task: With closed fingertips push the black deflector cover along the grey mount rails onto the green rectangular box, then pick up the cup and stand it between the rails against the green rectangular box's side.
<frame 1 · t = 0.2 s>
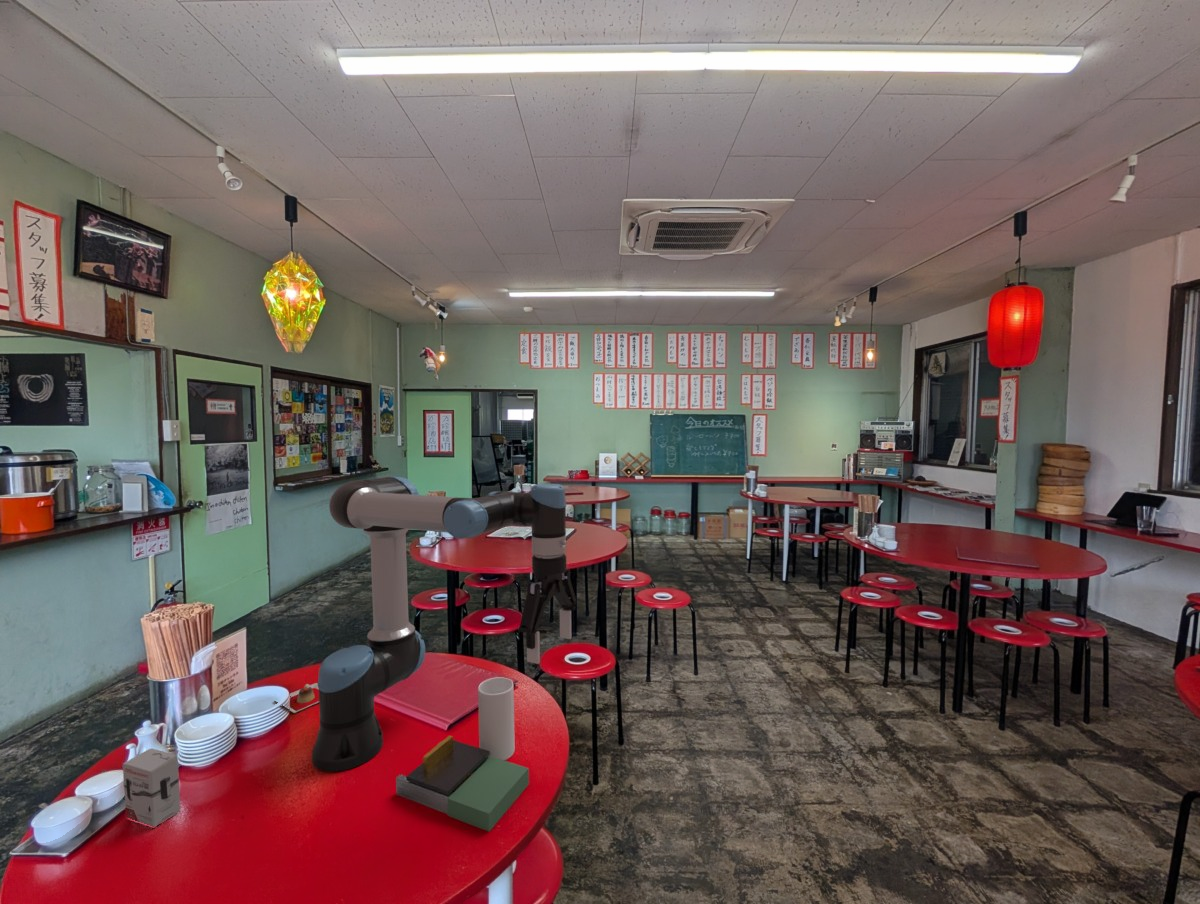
hand: (550, 649, 110), 28 cm above the table, fingers open, 13 cm apart
green rectangular box: (490, 799, 102), on the table
cup: (497, 752, 118), on the table
cover: (449, 758, 106), point 6 cm above the table, slide at 0.0 cm
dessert: (305, 701, 143), on the table
ink box: (153, 817, 99), on the table
bracket: (444, 783, 107), on the table
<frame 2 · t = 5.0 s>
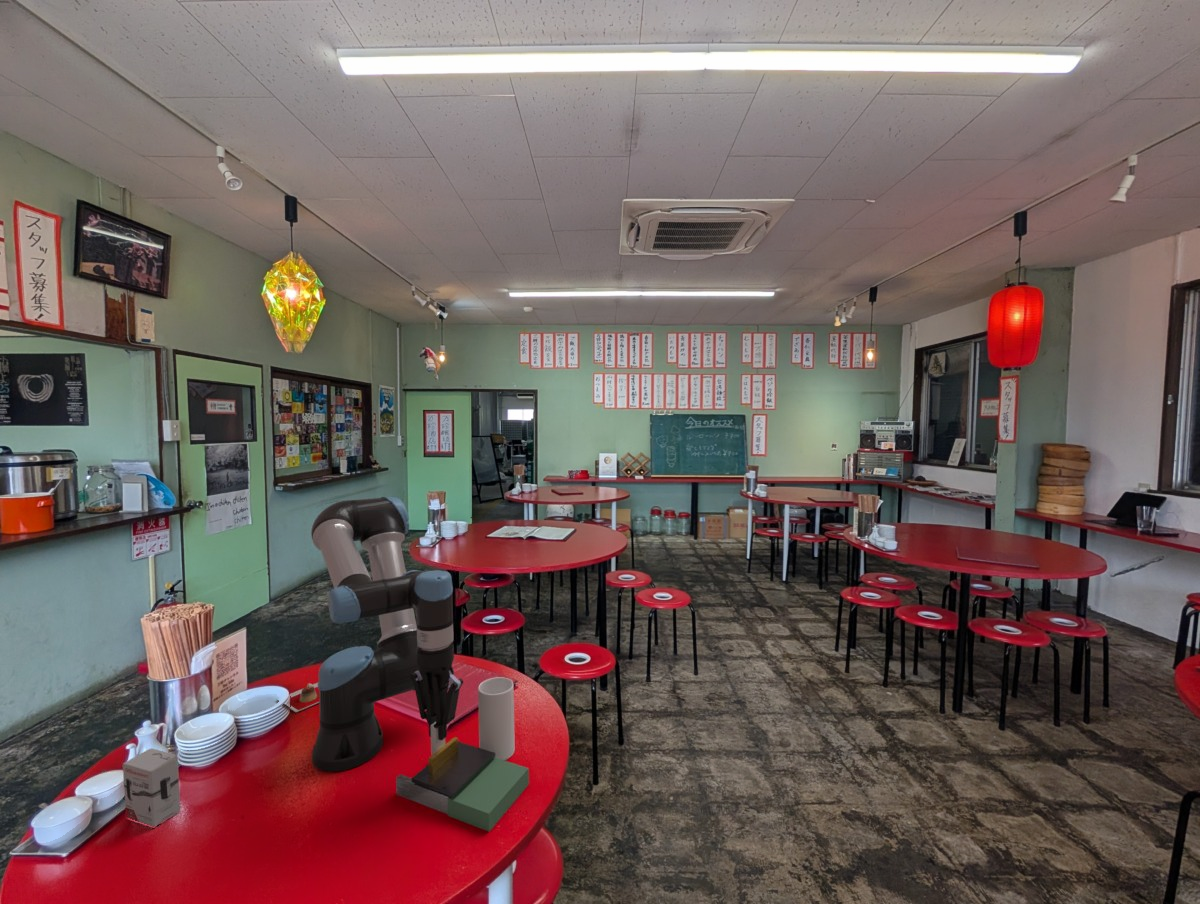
hand: (438, 752, 107), 7 cm above the table, fingers closed
cover: (454, 760, 106), point 6 cm above the table, slide at 1.5 cm, touching gripper
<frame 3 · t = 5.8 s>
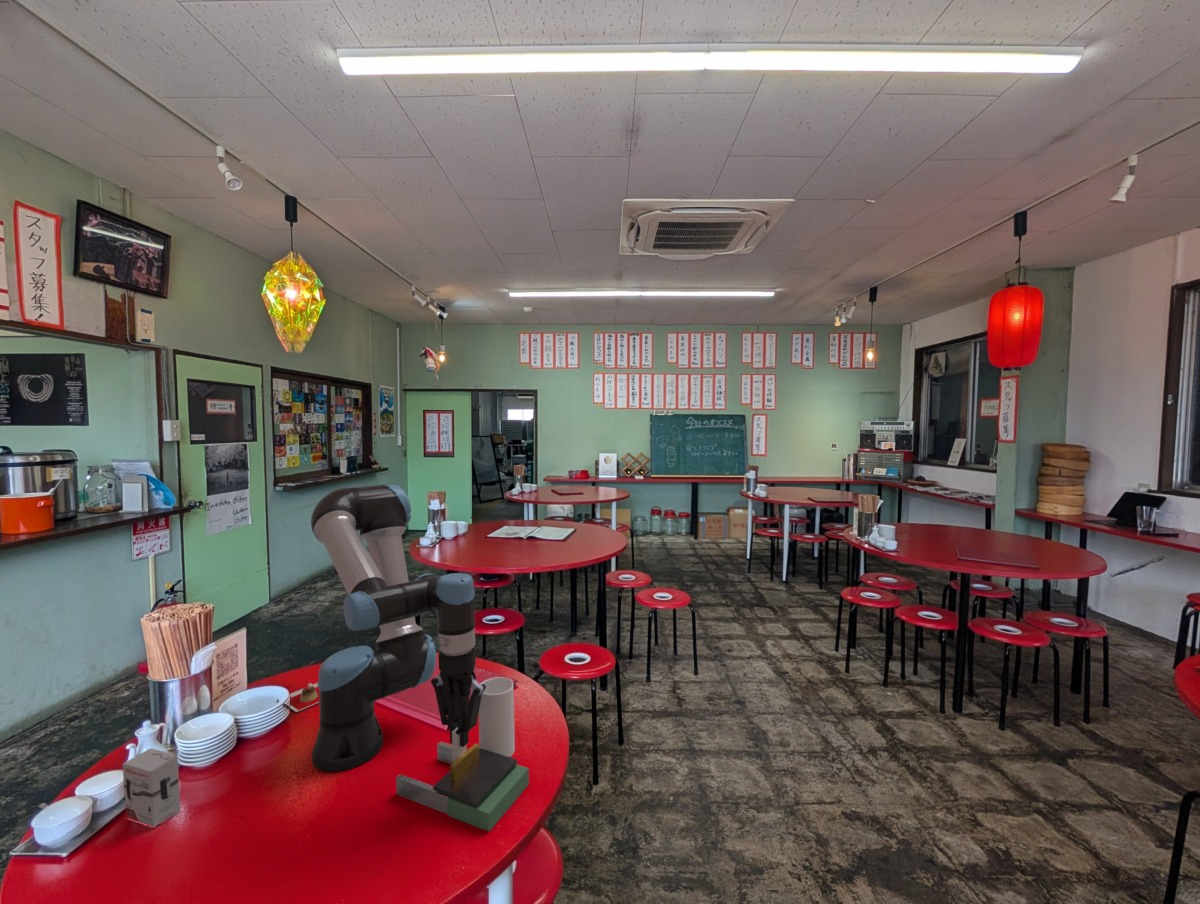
hand: (459, 758, 105), 7 cm above the table, fingers closed
cover: (476, 767, 104), point 6 cm above the table, slide at 7.2 cm, touching gripper
everything else where it was.
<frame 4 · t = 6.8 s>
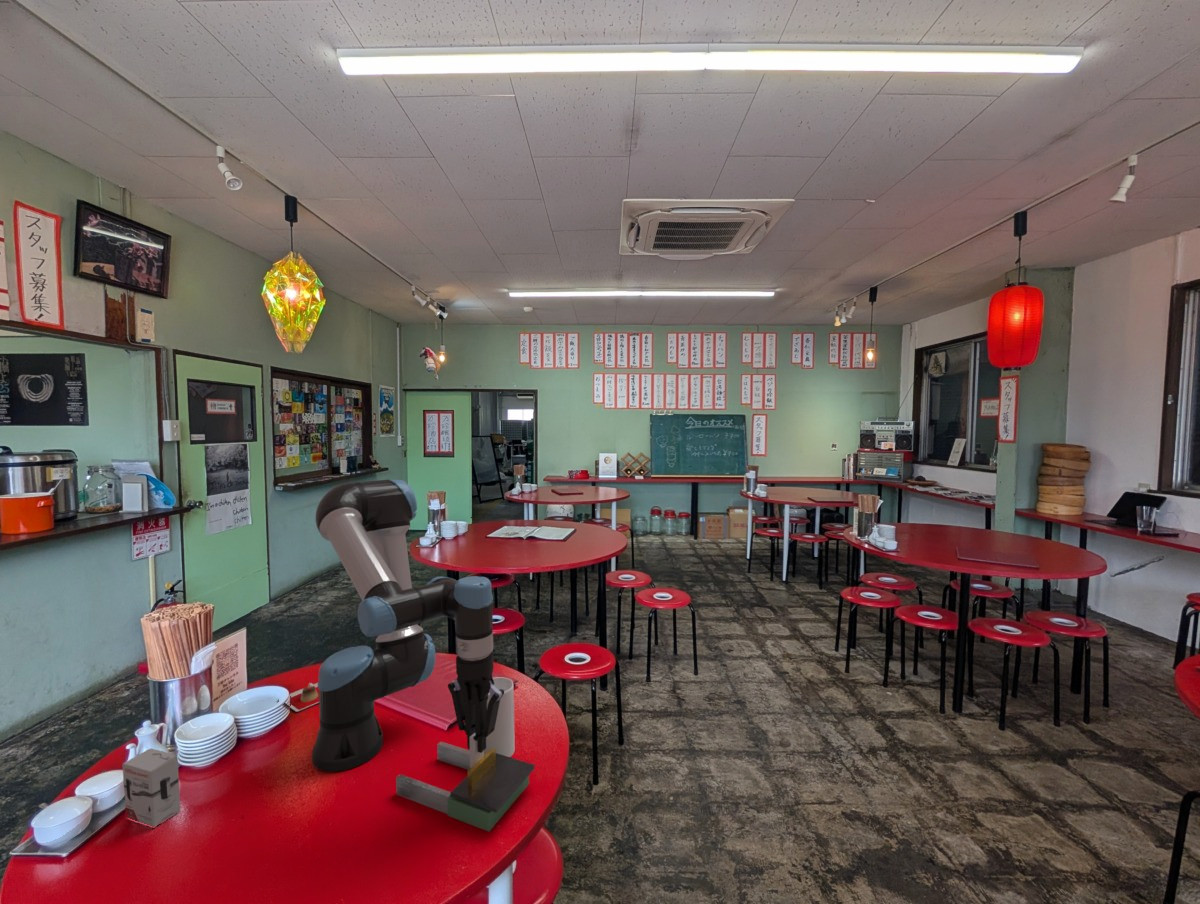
hand: (477, 764, 103), 6 cm above the table, fingers closed
cover: (494, 772, 102), point 6 cm above the table, slide at 11.6 cm, touching gripper
everything else where it was.
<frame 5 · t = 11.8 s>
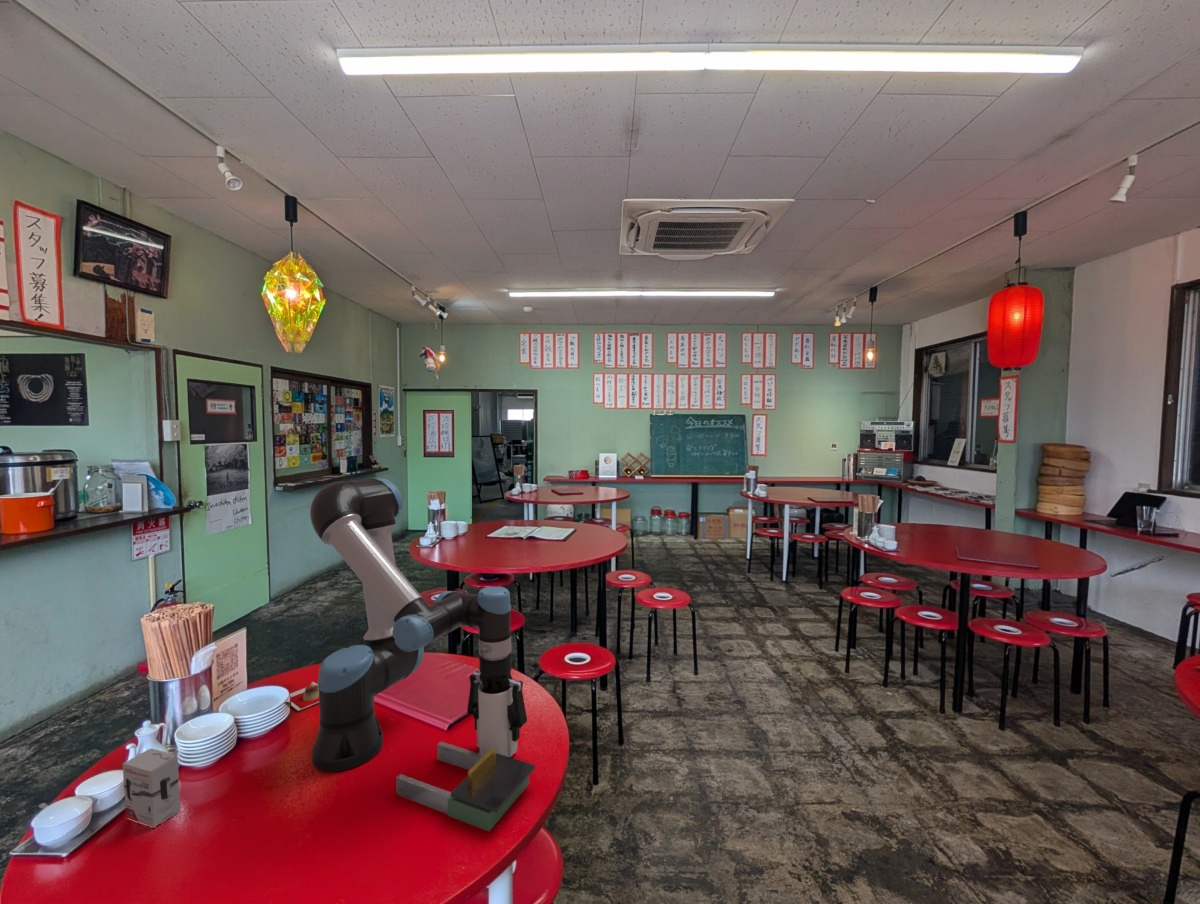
hand: (497, 748, 118), 1 cm above the table, fingers closed on cup, 8 cm apart
cup: (497, 752, 118), on the table, touching gripper
cover: (494, 772, 102), point 6 cm above the table, slide at 11.7 cm
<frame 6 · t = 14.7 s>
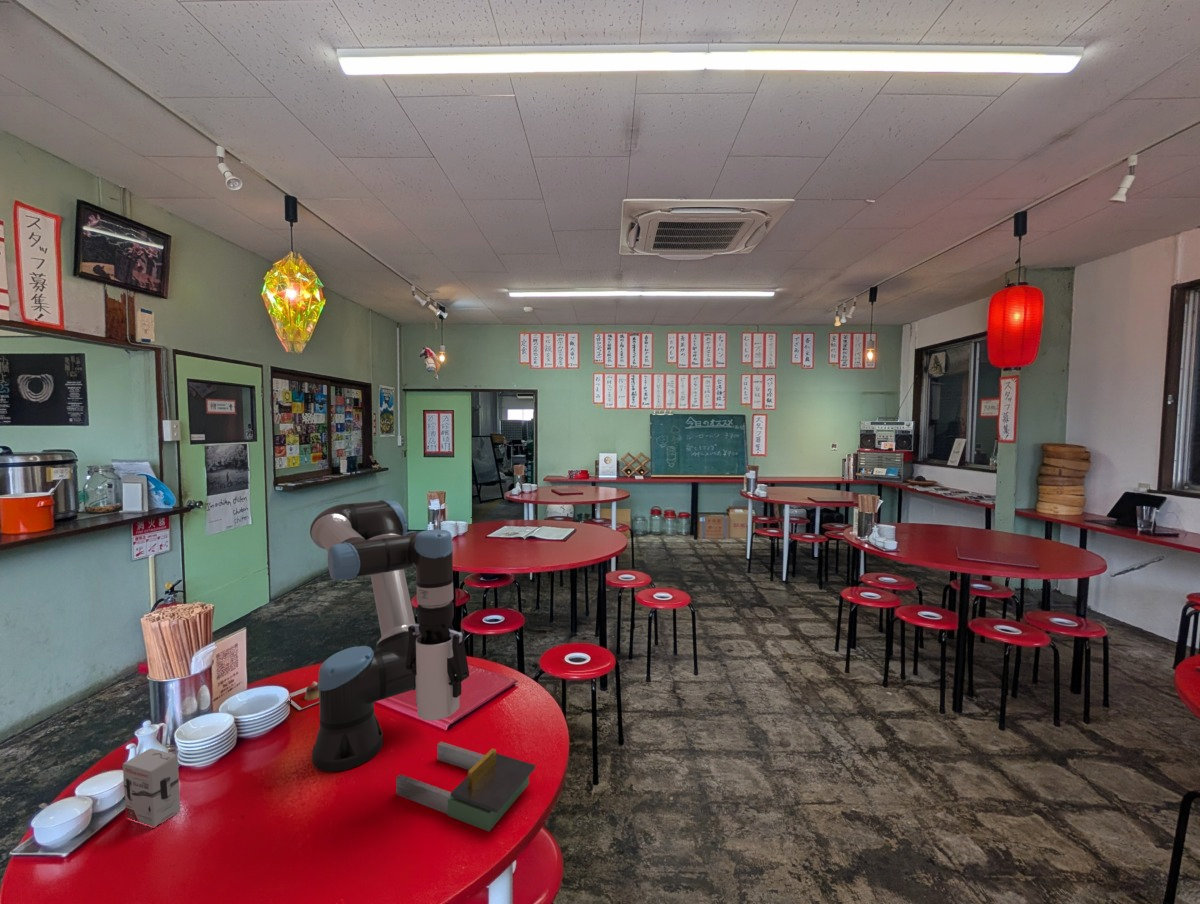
hand: (437, 706, 107), 17 cm above the table, fingers closed on cup, 8 cm apart
cup: (437, 710, 107), point 16 cm above the table, touching gripper
when the fingers open (3 cm above the table, at t = 17.6 s): cup drops 2 cm, on the table.
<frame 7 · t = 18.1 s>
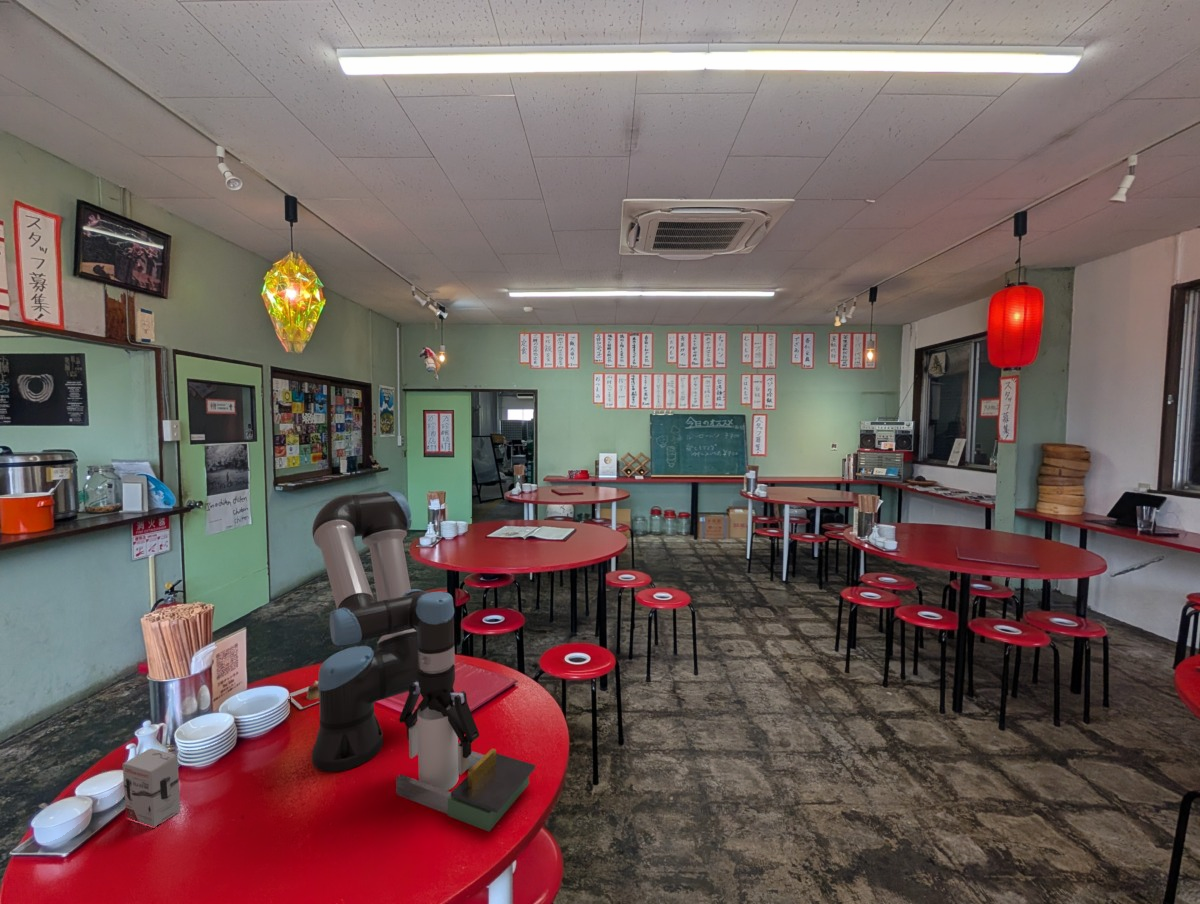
hand: (438, 762, 108), 4 cm above the table, fingers open, 13 cm apart
cup: (439, 782, 108), on the table
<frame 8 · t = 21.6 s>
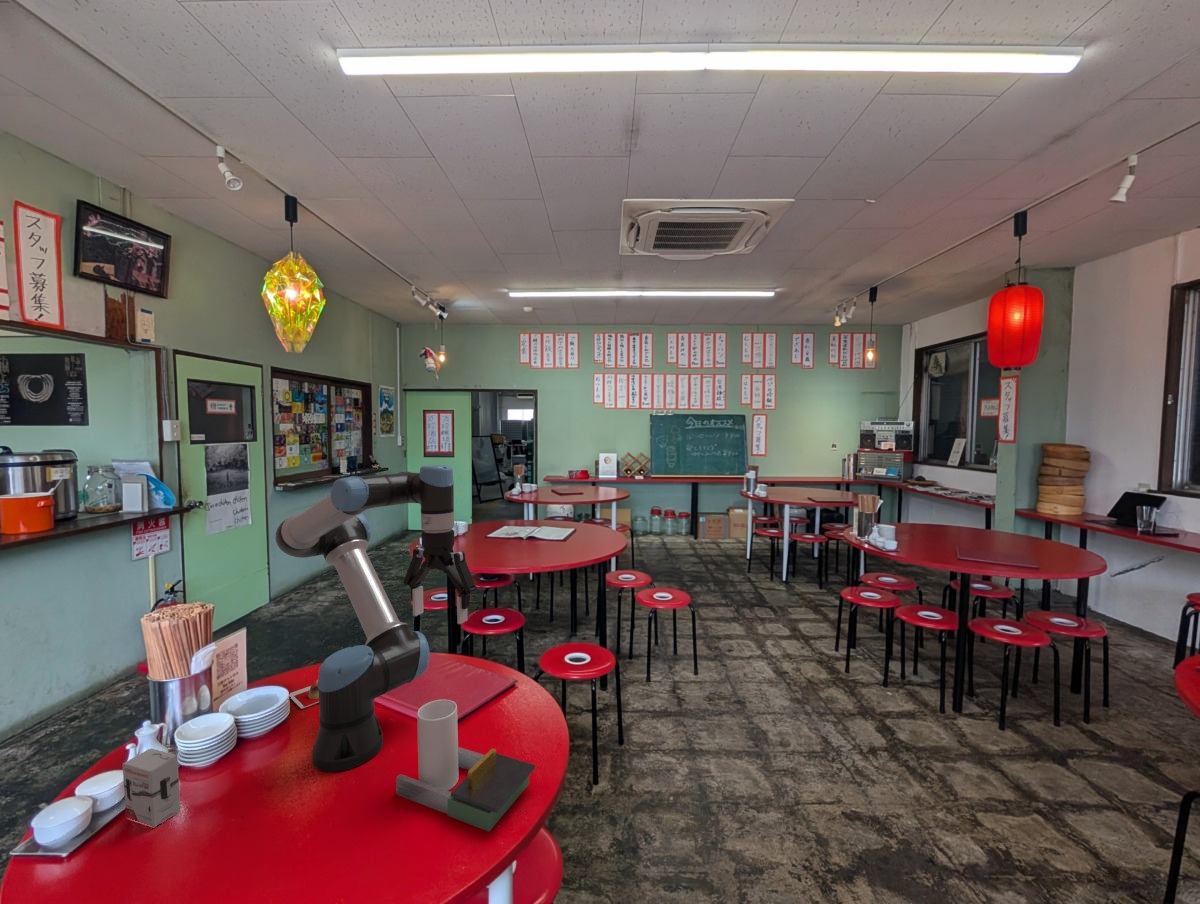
hand: (439, 618, 119), 32 cm above the table, fingers open, 13 cm apart
at the end: cup inside the target area (1.6 cm from its centre), on the table; cup tilted 0°; cover slide at 11.7 cm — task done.
